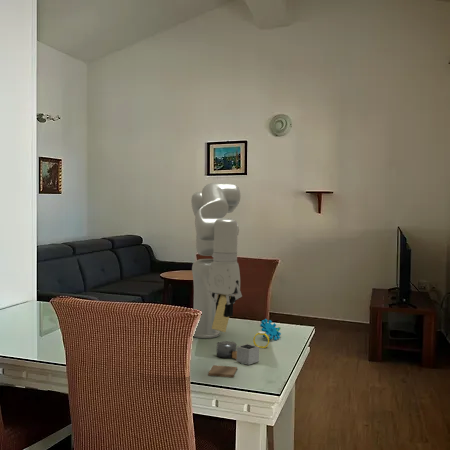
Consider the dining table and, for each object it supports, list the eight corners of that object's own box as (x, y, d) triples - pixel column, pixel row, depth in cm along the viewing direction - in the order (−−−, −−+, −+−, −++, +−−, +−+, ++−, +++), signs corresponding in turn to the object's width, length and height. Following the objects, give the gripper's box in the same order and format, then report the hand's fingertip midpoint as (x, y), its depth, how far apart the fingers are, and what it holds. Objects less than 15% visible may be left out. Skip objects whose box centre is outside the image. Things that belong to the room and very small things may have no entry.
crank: (212, 354, 174) (212, 340, 174) (226, 351, 179) (226, 337, 179) (246, 365, 163) (247, 350, 163) (260, 360, 168) (260, 346, 168)
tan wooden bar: (219, 330, 151) (228, 292, 154) (211, 328, 153) (221, 291, 156) (225, 332, 153) (234, 295, 157) (217, 330, 156) (227, 294, 159)
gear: (268, 338, 192) (258, 317, 198) (260, 347, 195) (249, 326, 201) (287, 338, 199) (276, 318, 205) (278, 346, 202) (268, 326, 208)
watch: (268, 347, 187) (270, 332, 186) (267, 349, 184) (269, 334, 184) (253, 345, 188) (254, 330, 188) (252, 347, 185) (253, 331, 185)
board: (208, 375, 153) (208, 373, 153) (213, 367, 161) (213, 365, 160) (233, 377, 151) (233, 375, 151) (237, 369, 159) (237, 367, 159)
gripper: (198, 256, 157) (197, 313, 158) (238, 260, 147) (236, 321, 147) (213, 255, 163) (212, 310, 163) (253, 259, 152) (251, 317, 153)
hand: (224, 314), depth 155 cm, fingers closed on tan wooden bar, 3 cm apart
